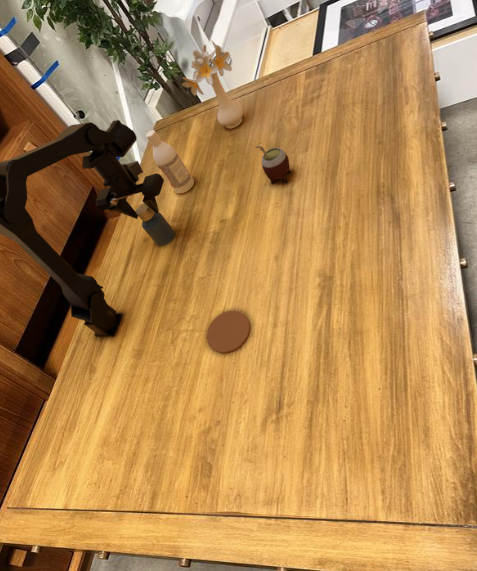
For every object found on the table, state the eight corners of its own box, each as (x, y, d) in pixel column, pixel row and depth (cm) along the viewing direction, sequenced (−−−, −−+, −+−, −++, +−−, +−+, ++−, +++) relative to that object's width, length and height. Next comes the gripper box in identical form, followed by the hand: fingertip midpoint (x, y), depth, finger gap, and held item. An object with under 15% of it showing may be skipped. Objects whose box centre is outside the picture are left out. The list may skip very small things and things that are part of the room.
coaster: (245, 353, 79) (244, 352, 79) (203, 352, 84) (201, 351, 83) (253, 311, 85) (252, 309, 84) (213, 312, 89) (212, 311, 89)
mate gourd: (286, 165, 109) (268, 118, 98) (299, 178, 104) (282, 130, 93) (263, 179, 109) (243, 134, 98) (275, 193, 104) (255, 147, 93)
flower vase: (207, 143, 133) (169, 73, 115) (230, 108, 141) (198, 38, 122) (238, 141, 126) (203, 66, 108) (261, 105, 133) (232, 29, 115)
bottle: (171, 244, 109) (149, 217, 101) (152, 246, 112) (130, 220, 104) (177, 227, 113) (156, 200, 105) (159, 230, 116) (138, 203, 107)
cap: (139, 217, 107) (133, 209, 105) (151, 208, 107) (145, 200, 105) (144, 223, 104) (138, 216, 102) (156, 214, 105) (150, 207, 103)
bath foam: (173, 186, 126) (137, 134, 111) (192, 175, 126) (158, 121, 111) (177, 197, 122) (141, 145, 107) (197, 186, 121) (162, 131, 106)
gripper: (151, 139, 95) (182, 187, 107) (92, 159, 102) (127, 201, 114) (139, 169, 89) (174, 216, 101) (78, 188, 96) (117, 229, 108)
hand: (147, 215), depth 106 cm, fingers open, 6 cm apart
